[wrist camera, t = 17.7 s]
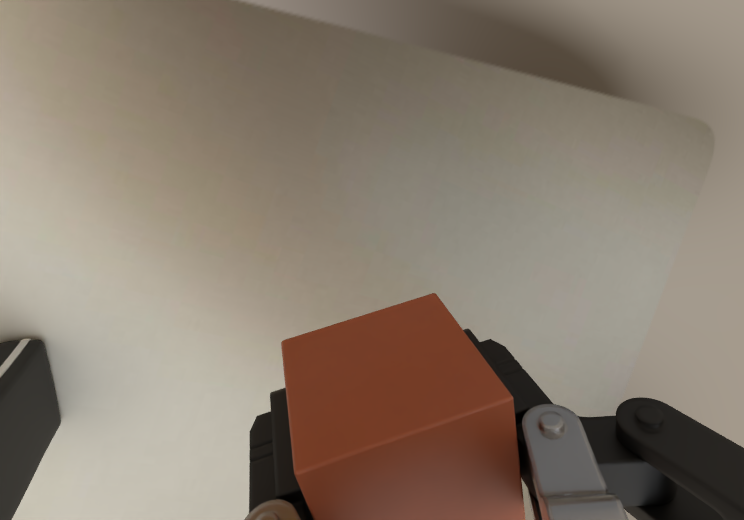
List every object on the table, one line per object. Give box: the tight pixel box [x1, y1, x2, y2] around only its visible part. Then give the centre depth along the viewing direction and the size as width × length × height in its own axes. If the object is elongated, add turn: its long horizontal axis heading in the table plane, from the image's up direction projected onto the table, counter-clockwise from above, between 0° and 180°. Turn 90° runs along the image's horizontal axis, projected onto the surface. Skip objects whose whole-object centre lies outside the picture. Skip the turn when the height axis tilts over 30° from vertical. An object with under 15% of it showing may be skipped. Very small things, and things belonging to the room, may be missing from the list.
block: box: [281, 293, 525, 520], centre depth 12 cm, size 5×5×5 cm
